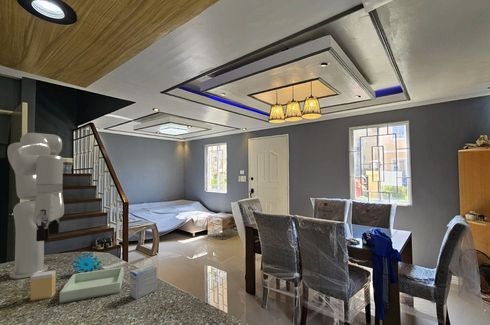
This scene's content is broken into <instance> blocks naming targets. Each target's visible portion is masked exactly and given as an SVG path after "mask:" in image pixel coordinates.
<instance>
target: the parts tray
mask: <svg viewBox="0 0 490 325" xmlns="http://www.w3.org/2000/svg"><path fill="white" fill-rule="evenodd" d="M124 276H125V266H121V267H120V266H119V267H113V268H106V269H100V270H95V271H92V270H91V271H89V272H88V271H85V272H84V273H80V272H79V273H78V272H77V273H73V274H72V276H71V277H69V279H68V280H67V282H66V284H65V285H64V286H63V287H62V289H61V290H60V292H59V304H63V303H69V302H75V301H80V300H85V299H92V298H98V297H101V296H103V297H104V296H108V295H115V294H118V293H121V290H122V287H123V286H122V285H123V282H122V281H124Z"/></svg>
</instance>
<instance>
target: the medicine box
mask: <svg viewBox="0 0 490 325" xmlns="http://www.w3.org/2000/svg"><path fill="white" fill-rule="evenodd" d="M157 271H158V270H157V266H154V265H152V264H146V265H145V266H141V267H139V268H136V269H133V270H131V271H130V272H129V276H130V277H129V296H130V297H132V298H133V299H134V300H138V299H140V298H143V297H145V296H146V295H149V294H151V293H153V292H156V291H157V290H158V289H157V288H158V287H157V284H158V283H157V281H158V280H157V278H158V277H157V274H158V273H157Z"/></svg>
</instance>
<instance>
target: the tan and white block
mask: <svg viewBox="0 0 490 325" xmlns="http://www.w3.org/2000/svg"><path fill="white" fill-rule="evenodd" d="M56 274H57V273H56V269H55V270H46V271H45V272H40V273H35V274H34V275H33V276H31V277H30V290H29V292H30V293H29V294H30V295H29V296H30V297H29V298H30V299H29V300H30V301H36V300H43V299H48V298H53V296H54V295H55V294H56V278H57V277H56V276H57V275H56Z"/></svg>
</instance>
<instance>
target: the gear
mask: <svg viewBox="0 0 490 325" xmlns="http://www.w3.org/2000/svg"><path fill="white" fill-rule="evenodd" d="M88 255H89V254H88V253H84V254H83V255H81V254H80V255H78V257H77V258H76V259H74V261H73V262H74V264H73V265H72V268H75V269H74V271H75V273H78V272H79V273H85V272H92V271H96V270H97V269H98V268H99V267H100V264H101V263H102V262H103V259H99V260H98V256H94V254H93V253H90V255H89V256H88ZM82 257H83V258H82ZM90 270H91V271H90Z"/></svg>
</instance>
